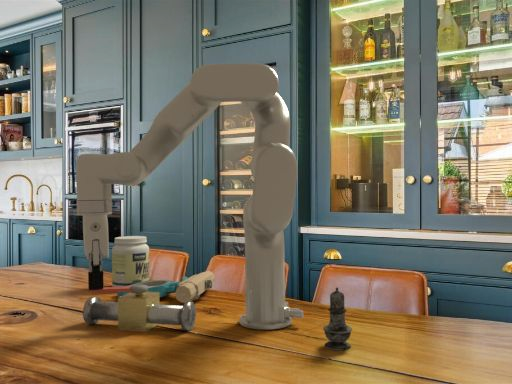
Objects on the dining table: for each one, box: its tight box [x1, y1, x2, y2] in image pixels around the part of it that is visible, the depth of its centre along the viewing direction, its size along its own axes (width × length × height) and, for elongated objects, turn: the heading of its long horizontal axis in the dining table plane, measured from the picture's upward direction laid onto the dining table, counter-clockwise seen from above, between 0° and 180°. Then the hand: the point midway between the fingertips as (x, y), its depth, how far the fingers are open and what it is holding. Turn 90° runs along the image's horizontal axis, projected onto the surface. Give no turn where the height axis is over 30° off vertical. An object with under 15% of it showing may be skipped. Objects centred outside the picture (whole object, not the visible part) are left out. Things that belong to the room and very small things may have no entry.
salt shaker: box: [322, 286, 353, 351], centre depth 93 cm, size 6×6×12 cm
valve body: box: [82, 292, 197, 333], centre depth 108 cm, size 26×7×8 cm, turn 76°
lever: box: [89, 285, 148, 294], centre depth 108 cm, size 13×4×5 cm, turn 95°
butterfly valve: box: [116, 270, 216, 304], centre depth 138 cm, size 27×7×30 cm
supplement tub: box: [111, 235, 151, 287], centre depth 153 cm, size 12×12×17 cm
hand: (96, 288), depth 104 cm, fingers closed
